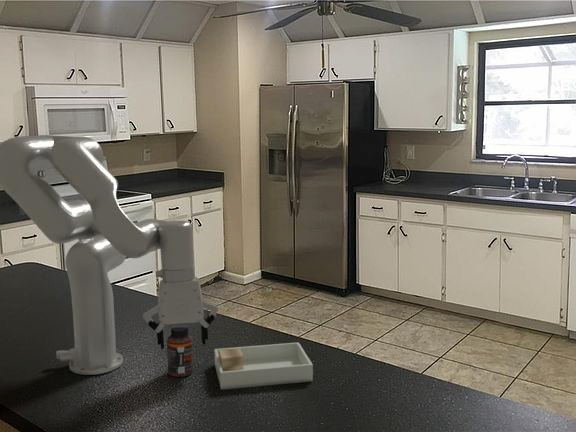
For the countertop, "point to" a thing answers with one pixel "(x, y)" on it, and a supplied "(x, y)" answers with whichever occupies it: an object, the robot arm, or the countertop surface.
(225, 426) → the countertop surface
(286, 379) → the tray
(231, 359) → the maple cube
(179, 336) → the supplement bottle
